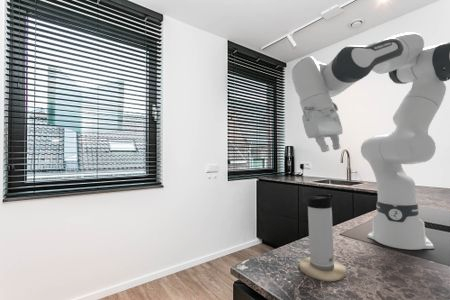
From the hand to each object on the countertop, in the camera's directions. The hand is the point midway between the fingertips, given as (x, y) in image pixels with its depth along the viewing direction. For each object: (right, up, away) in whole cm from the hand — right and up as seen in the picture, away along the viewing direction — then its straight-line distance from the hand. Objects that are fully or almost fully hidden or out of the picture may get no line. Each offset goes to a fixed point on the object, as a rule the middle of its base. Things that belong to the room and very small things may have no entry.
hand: (332, 150), depth 70 cm
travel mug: (-5, -33, -5) cm, 33 cm away
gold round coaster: (-5, -34, -5) cm, 34 cm away
